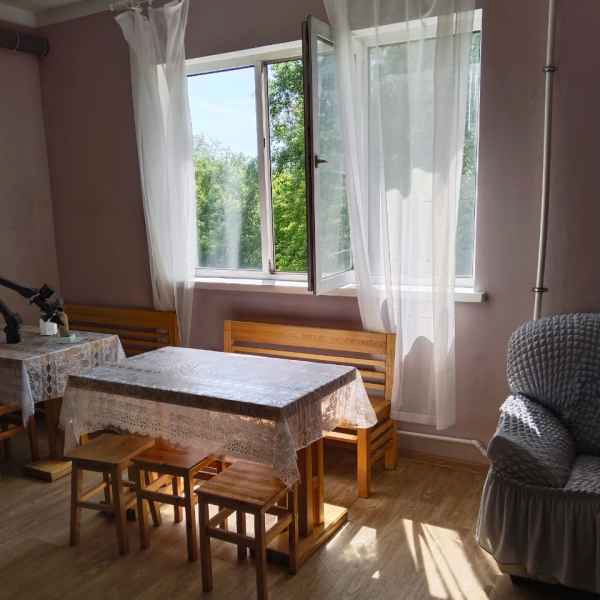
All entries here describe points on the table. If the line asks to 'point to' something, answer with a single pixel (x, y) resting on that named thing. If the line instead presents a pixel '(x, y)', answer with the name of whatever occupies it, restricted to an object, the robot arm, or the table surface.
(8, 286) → the robot arm
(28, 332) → the table surface
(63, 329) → the pepper mill
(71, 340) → the well board
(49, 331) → the jar
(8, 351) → the table surface
